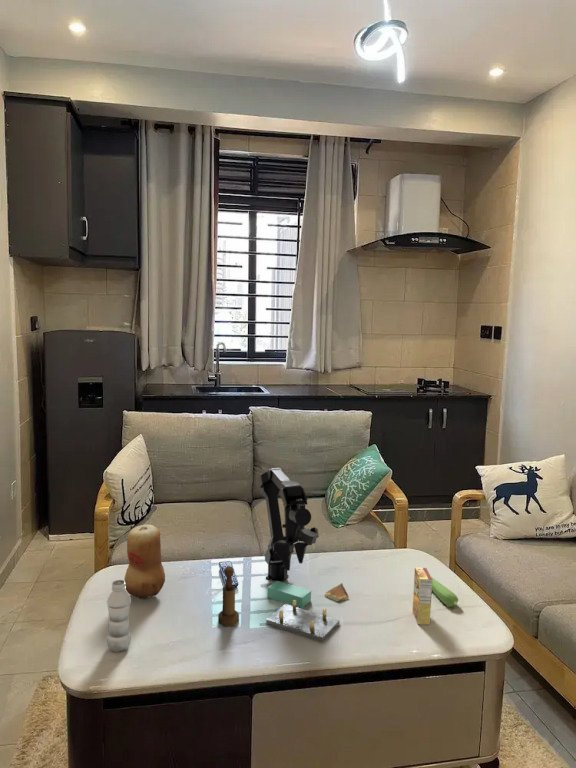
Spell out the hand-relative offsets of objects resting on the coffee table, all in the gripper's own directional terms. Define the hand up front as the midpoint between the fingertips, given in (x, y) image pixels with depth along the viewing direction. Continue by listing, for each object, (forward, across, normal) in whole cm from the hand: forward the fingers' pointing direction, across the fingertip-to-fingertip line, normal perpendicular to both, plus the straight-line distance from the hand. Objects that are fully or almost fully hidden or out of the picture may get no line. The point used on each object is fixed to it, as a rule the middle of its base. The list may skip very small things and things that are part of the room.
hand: (294, 566), depth 195 cm
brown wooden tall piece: (+13, -22, +13) cm, 28 cm away
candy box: (+16, +12, -40) cm, 44 cm away
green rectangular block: (+12, +1, +3) cm, 12 cm away
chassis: (+14, -11, -8) cm, 20 cm away
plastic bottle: (+14, -50, +31) cm, 61 cm away
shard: (+12, +13, -9) cm, 20 cm away
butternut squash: (+9, -23, +47) cm, 53 cm away
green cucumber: (+14, +31, -41) cm, 53 cm away
